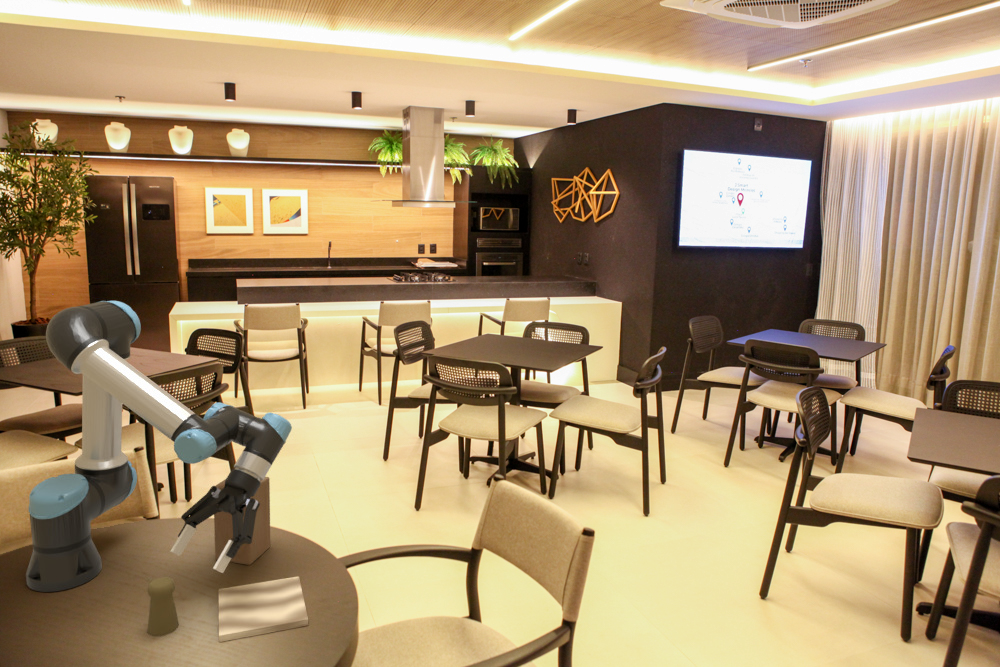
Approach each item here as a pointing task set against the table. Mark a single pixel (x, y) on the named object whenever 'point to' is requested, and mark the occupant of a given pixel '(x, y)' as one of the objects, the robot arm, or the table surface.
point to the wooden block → (261, 526)
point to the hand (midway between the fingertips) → (195, 562)
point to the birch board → (261, 608)
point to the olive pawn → (162, 607)
